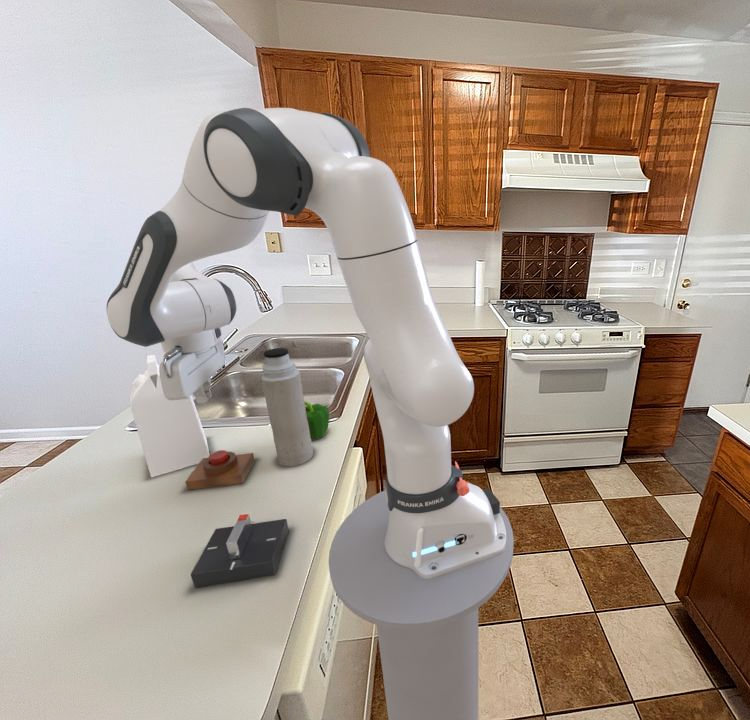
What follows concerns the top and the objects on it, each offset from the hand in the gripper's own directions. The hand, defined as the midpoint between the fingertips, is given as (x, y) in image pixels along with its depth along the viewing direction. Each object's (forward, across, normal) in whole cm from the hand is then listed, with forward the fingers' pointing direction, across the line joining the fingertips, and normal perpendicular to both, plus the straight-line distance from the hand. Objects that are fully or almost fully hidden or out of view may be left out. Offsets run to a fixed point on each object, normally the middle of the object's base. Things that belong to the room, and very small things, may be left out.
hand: (204, 400), depth 85 cm
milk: (+19, +10, +13) cm, 25 cm away
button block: (+19, 0, 0) cm, 19 cm away
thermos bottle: (+19, +4, -15) cm, 24 cm away
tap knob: (+16, -27, -13) cm, 34 cm away
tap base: (+19, -27, -13) cm, 35 cm away
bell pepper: (+19, +14, -18) cm, 30 cm away
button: (+15, 0, 0) cm, 15 cm away
